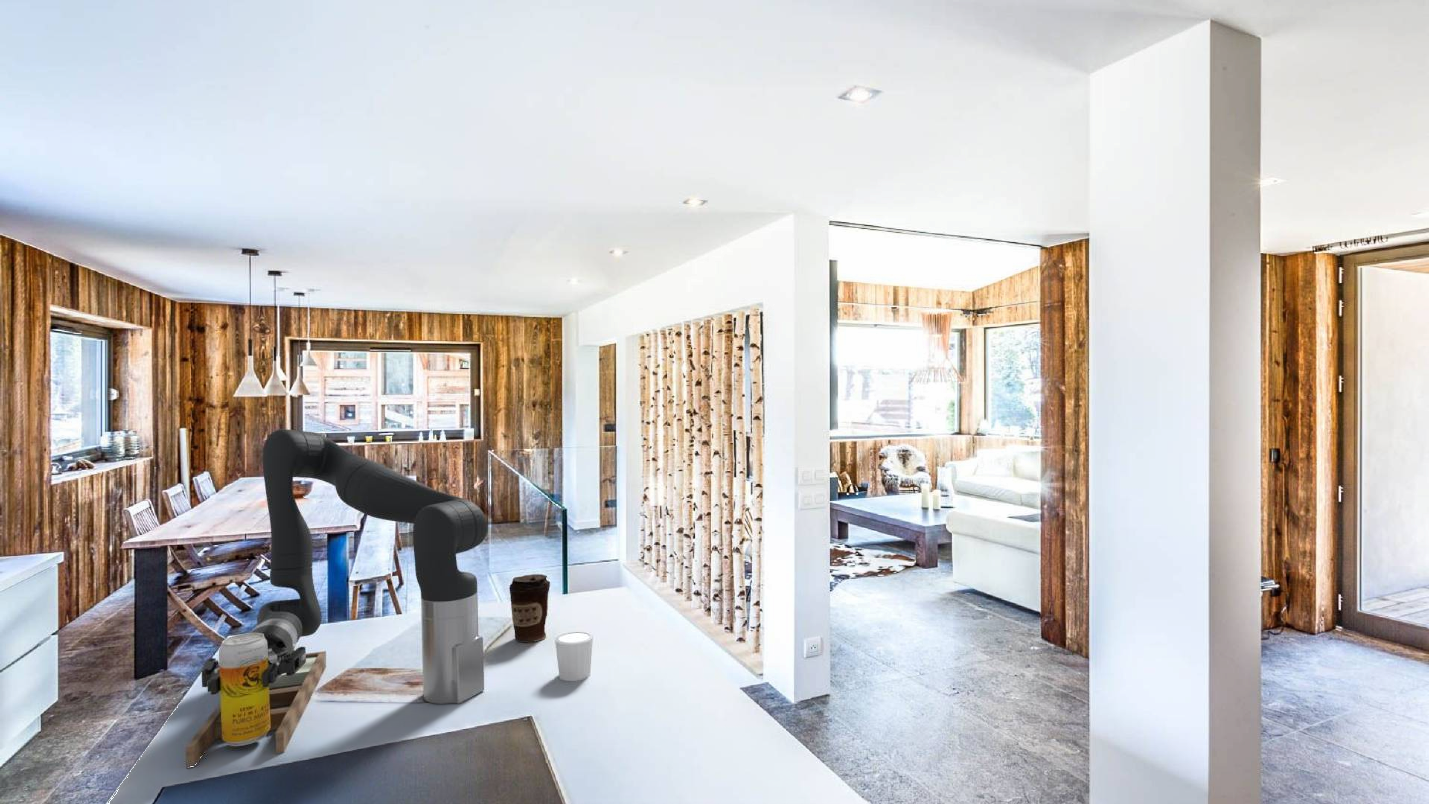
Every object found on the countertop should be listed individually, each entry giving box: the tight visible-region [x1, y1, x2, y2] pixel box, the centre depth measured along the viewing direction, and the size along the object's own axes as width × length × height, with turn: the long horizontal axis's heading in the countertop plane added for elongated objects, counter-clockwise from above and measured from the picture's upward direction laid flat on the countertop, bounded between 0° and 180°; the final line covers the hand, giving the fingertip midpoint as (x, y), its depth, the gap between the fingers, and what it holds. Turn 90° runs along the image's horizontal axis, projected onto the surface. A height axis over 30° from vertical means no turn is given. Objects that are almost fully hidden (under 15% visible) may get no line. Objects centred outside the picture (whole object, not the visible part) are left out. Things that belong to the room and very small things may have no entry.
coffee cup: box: [509, 573, 551, 643], centre depth 153 cm, size 9×8×13 cm
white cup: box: [554, 631, 594, 682], centre depth 132 cm, size 7×7×7 cm
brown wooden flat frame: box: [185, 650, 327, 767], centre depth 120 cm, size 36×12×3 cm, turn 20°
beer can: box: [218, 632, 271, 747], centre depth 108 cm, size 6×6×15 cm
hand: (239, 684), depth 106 cm, fingers closed on beer can, 6 cm apart
